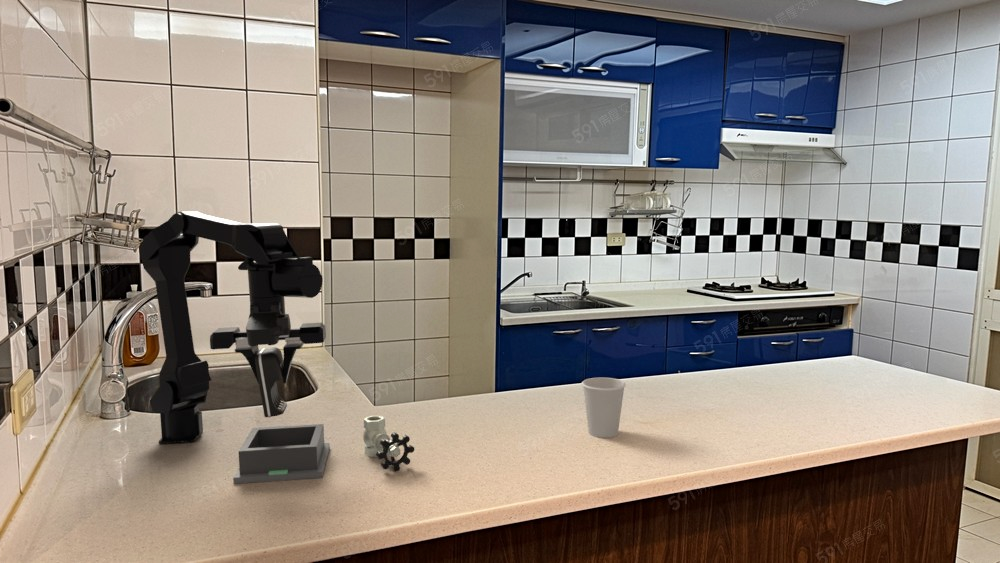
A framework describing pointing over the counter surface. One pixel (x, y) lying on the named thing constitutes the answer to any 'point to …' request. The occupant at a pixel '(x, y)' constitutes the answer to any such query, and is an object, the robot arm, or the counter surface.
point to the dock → (282, 454)
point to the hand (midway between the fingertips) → (272, 383)
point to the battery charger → (270, 380)
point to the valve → (384, 443)
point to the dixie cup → (603, 405)
